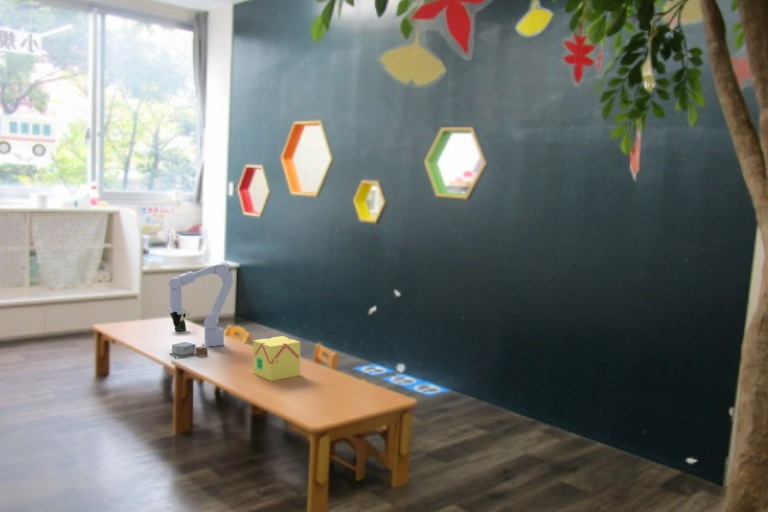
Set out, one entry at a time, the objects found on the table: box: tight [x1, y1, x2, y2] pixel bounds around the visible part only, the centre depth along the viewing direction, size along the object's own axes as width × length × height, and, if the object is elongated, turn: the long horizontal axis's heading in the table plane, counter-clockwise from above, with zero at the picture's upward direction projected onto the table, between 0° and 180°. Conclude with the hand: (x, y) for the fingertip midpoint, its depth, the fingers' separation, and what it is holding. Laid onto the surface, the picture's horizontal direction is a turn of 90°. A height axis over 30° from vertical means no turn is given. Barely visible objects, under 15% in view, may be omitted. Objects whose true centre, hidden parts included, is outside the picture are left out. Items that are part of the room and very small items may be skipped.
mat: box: [169, 352, 194, 358], centre depth 318 cm, size 9×10×1 cm
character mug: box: [170, 307, 190, 332], centre depth 373 cm, size 11×7×13 cm, turn 127°
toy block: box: [252, 335, 301, 382], centre depth 286 cm, size 15×15×15 cm
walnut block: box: [195, 345, 209, 357], centre depth 318 cm, size 4×4×4 cm
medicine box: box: [171, 341, 197, 355], centre depth 320 cm, size 8×4×9 cm
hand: (176, 326), depth 337 cm, fingers closed
